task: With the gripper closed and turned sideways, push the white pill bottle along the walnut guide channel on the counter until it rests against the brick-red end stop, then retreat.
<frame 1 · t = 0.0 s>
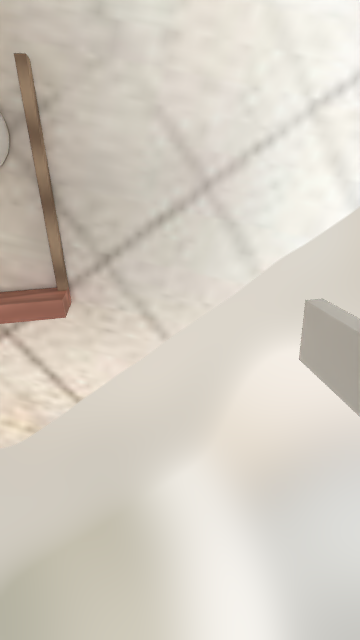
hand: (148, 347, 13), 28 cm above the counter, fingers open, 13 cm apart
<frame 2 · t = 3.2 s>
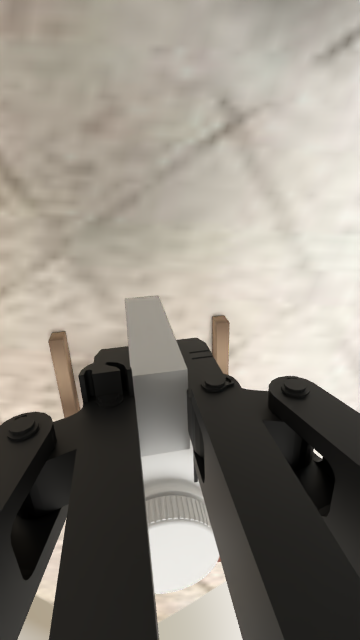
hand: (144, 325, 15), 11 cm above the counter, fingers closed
pill bottle: (146, 384, 30), on the counter
guide channel: (151, 438, 32), on the counter
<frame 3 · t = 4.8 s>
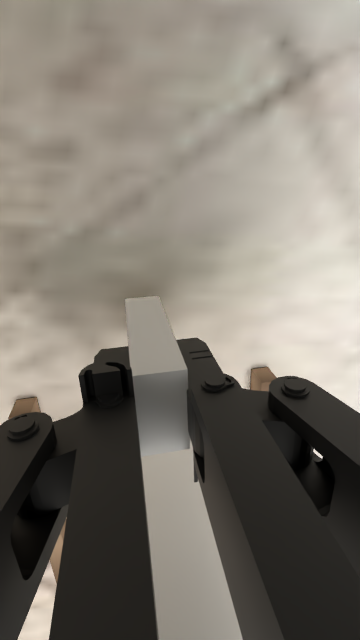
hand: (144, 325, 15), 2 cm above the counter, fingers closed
pill bottle: (155, 461, 21), on the counter
guide channel: (162, 529, 23), on the counter
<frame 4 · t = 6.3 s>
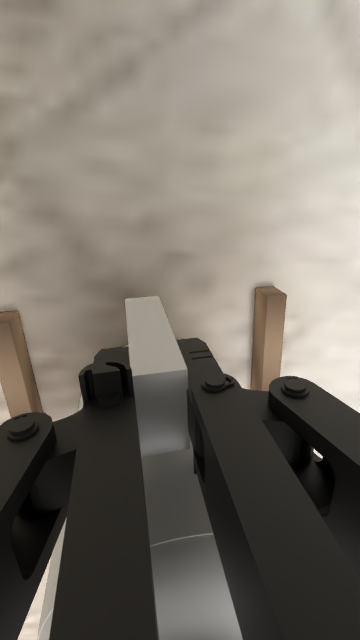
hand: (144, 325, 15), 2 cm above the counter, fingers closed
pill bottle: (151, 396, 19), on the counter, touching gripper
guide channel: (158, 475, 21), on the counter
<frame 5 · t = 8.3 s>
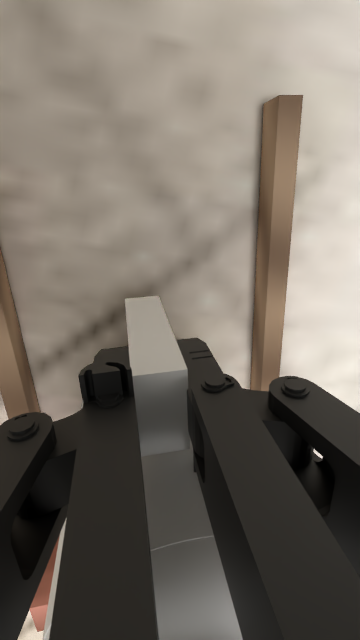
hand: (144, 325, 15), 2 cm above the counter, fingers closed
pill bottle: (153, 397, 19), on the counter, touching gripper
guide channel: (147, 362, 18), on the counter
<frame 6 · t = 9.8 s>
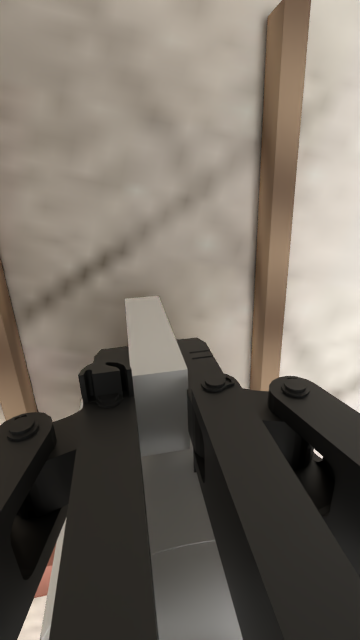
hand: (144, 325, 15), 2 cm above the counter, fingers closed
pill bottle: (152, 398, 19), on the counter, touching gripper
guide channel: (141, 313, 17), on the counter
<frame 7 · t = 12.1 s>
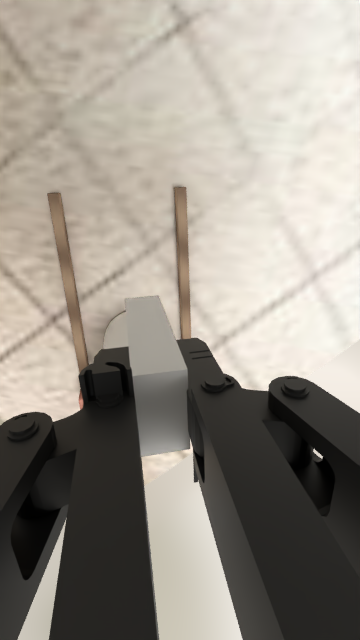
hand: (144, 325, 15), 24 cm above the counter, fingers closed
pill bottle: (135, 337, 42), on the counter
guide channel: (129, 297, 40), on the counter
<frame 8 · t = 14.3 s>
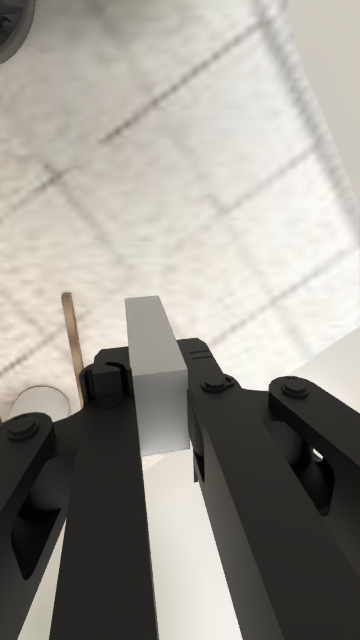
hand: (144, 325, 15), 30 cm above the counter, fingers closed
pill bottle: (43, 406, 50), on the counter
guide channel: (34, 377, 48), on the counter
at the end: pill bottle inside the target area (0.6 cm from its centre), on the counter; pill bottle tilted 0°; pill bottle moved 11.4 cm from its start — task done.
